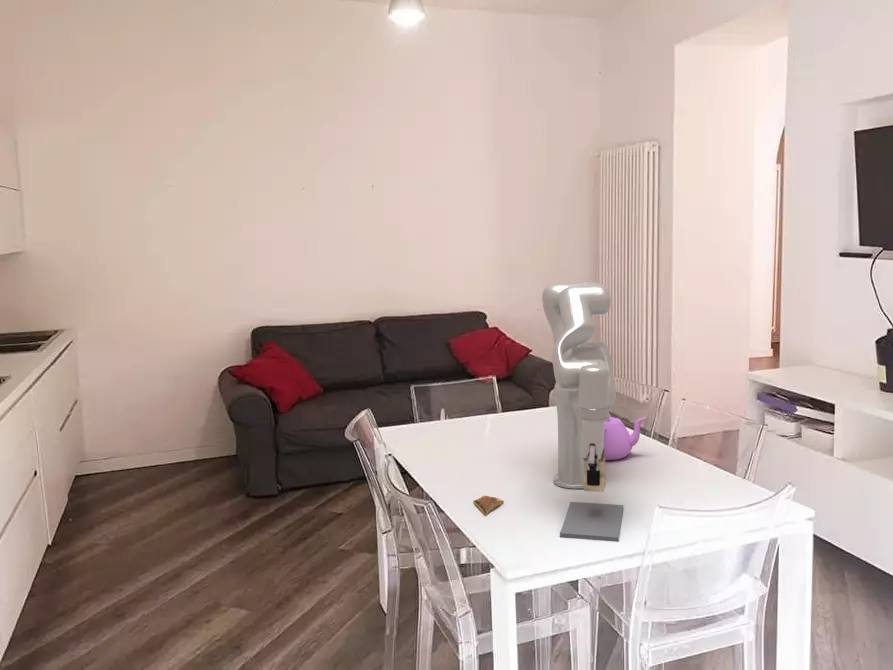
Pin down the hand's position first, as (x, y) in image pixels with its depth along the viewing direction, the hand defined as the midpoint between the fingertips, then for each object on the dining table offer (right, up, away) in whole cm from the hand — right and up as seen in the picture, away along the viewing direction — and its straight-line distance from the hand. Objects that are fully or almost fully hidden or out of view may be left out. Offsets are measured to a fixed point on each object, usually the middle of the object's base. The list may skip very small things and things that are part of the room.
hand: (594, 481), depth 209 cm
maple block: (0, -2, 0) cm, 2 cm away
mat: (-1, -10, -2) cm, 10 cm away
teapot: (+16, -2, +53) cm, 55 cm away
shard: (-26, -10, +11) cm, 30 cm away
